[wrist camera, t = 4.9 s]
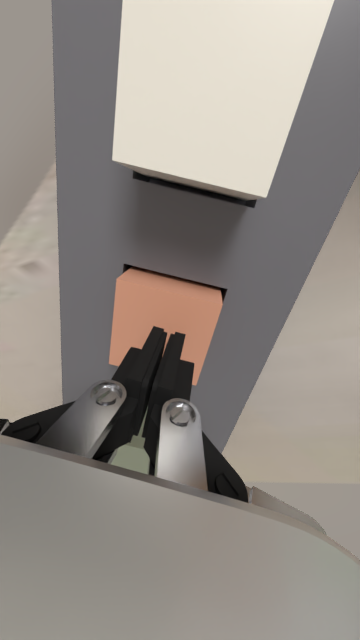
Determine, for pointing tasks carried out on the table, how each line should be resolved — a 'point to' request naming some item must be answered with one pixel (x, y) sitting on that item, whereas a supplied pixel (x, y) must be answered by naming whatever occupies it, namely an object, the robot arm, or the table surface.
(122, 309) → the terracotta key
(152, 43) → the cream key
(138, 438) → the sage key
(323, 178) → the key console
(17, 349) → the table surface
